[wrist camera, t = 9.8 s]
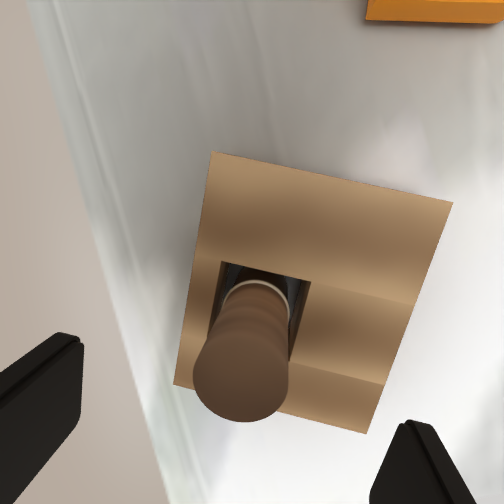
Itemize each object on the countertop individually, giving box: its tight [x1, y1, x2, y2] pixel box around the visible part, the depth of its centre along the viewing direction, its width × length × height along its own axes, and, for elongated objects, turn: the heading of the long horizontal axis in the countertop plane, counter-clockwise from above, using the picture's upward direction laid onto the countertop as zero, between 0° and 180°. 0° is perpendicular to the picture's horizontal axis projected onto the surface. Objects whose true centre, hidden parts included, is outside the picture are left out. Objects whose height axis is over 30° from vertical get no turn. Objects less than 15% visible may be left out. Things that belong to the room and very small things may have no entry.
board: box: [173, 151, 453, 434], centre depth 19 cm, size 14×12×4 cm
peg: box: [193, 267, 290, 422], centre depth 16 cm, size 4×4×10 cm
